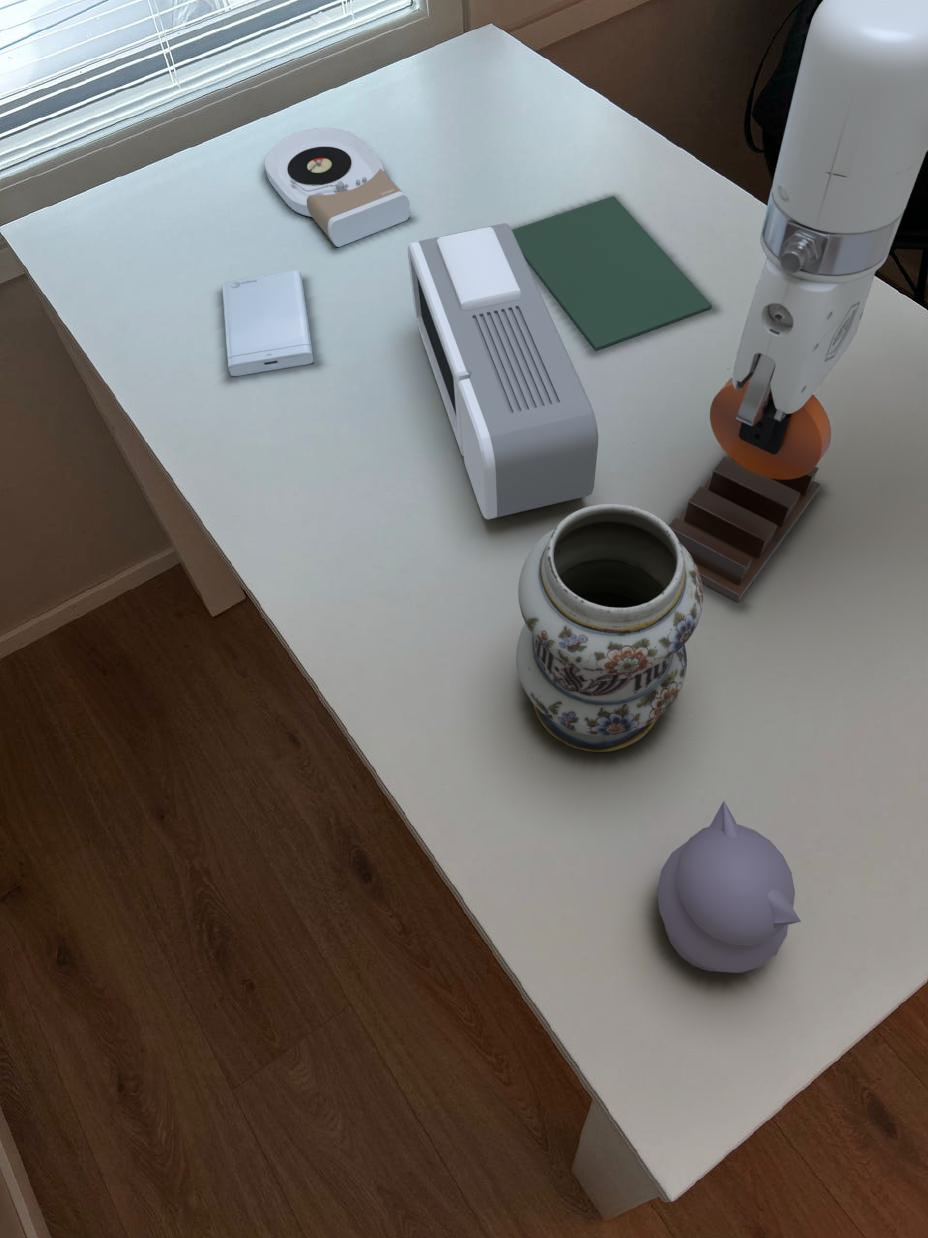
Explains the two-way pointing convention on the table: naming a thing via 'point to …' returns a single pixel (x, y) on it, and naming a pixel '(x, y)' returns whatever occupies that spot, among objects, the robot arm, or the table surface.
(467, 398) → the alarm clock
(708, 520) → the rack
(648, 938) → the table surface
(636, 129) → the table surface
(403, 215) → the record player
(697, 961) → the cat figurine
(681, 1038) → the table surface
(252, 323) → the hard drive
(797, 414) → the disc
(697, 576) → the apothecary jar
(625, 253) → the mat
